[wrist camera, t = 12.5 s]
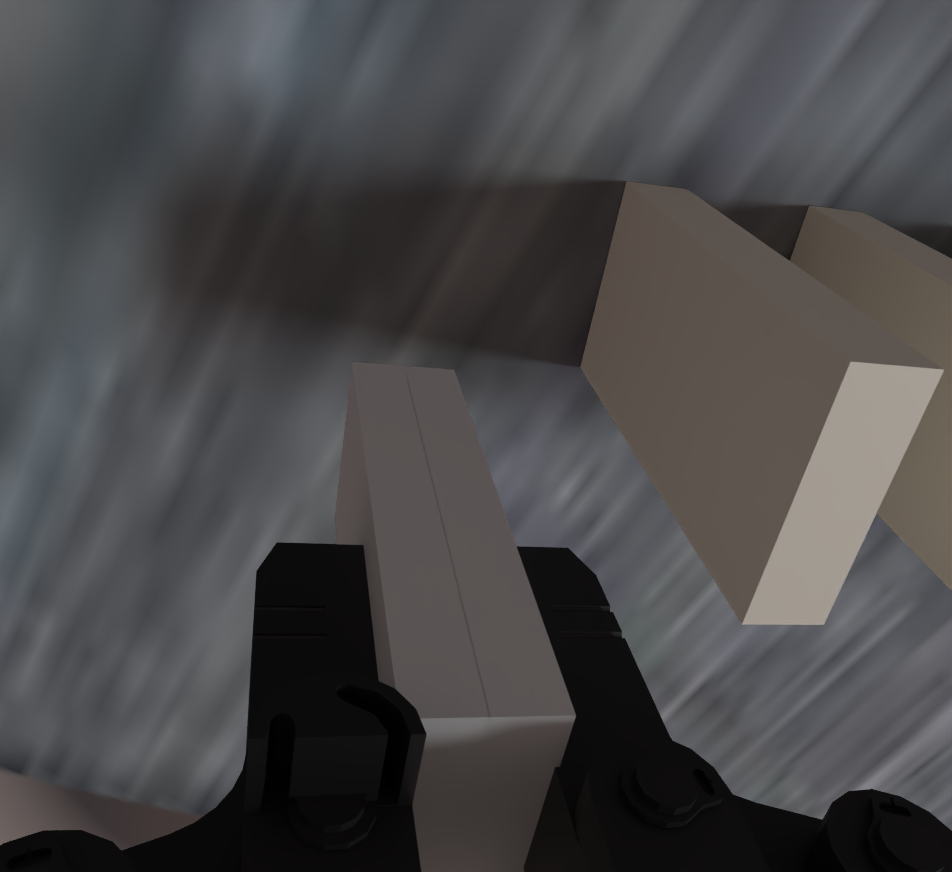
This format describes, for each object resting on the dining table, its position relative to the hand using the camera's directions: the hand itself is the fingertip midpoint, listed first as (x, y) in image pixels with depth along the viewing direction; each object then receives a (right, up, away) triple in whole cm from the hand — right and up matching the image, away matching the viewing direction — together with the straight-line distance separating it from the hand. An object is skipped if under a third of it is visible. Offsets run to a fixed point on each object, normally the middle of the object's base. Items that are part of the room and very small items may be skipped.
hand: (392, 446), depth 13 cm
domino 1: (+5, +4, +9) cm, 11 cm away
